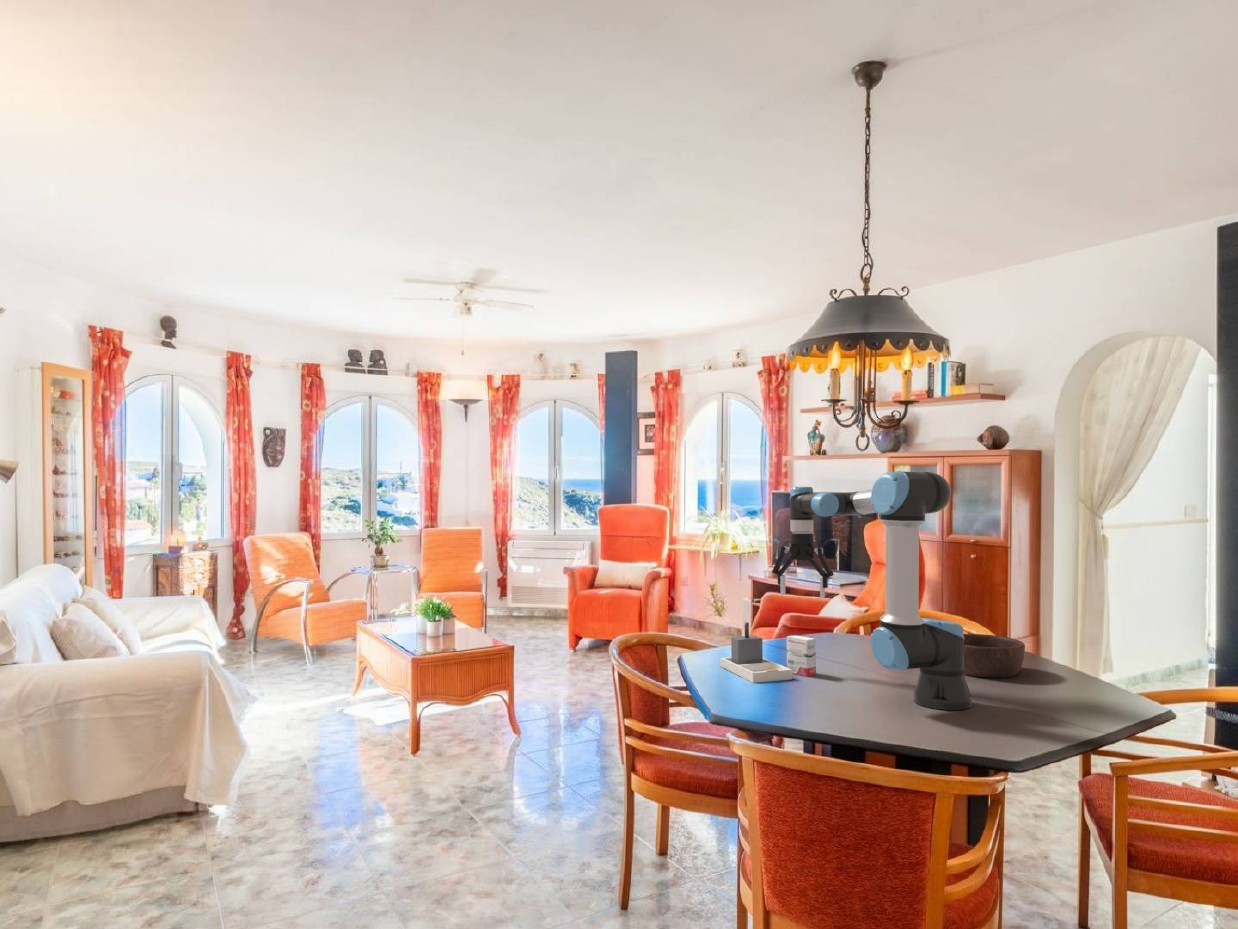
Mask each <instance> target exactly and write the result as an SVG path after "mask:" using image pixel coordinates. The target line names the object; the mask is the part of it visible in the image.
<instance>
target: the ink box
mask: <svg viewBox="0 0 1238 929" xmlns="http://www.w3.org/2000/svg"><path fill="white" fill-rule="evenodd" d="M816 658H817V656H816V638H811V637H806V636H800V635H796V634H795V635H788V636H786V667H787V668H789V669H792V675H793V674H795V675H799V676H804V677H807V678H808V677H811V676H815V675H817V659H816Z"/></svg>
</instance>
